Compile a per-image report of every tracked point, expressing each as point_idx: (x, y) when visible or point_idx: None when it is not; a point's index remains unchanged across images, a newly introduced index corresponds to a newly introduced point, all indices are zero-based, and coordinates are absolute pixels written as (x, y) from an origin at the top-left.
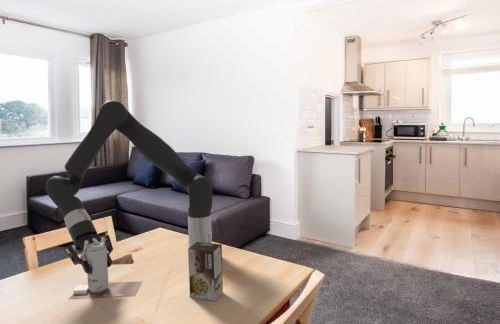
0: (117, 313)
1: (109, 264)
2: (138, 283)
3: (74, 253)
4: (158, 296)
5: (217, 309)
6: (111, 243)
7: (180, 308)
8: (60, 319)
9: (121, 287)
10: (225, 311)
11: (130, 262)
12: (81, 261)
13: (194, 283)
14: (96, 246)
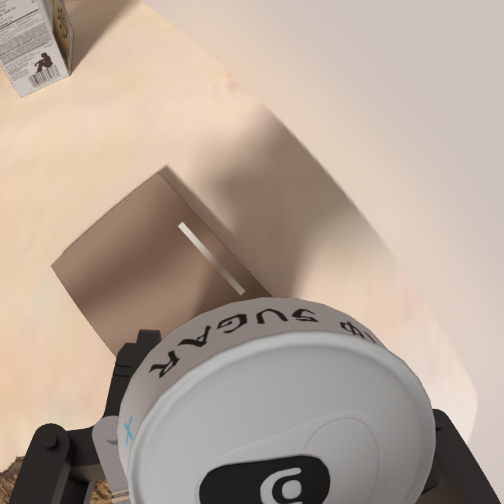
0: (264, 149)
1: (158, 335)
2: (72, 262)
3: (466, 474)
4: (102, 134)
5: (103, 14)
6: (13, 489)
7: (133, 50)
8: (408, 276)
9: (140, 296)
10: (104, 6)
11: (5, 478)
12: None
13: (60, 31)
14: (347, 390)
